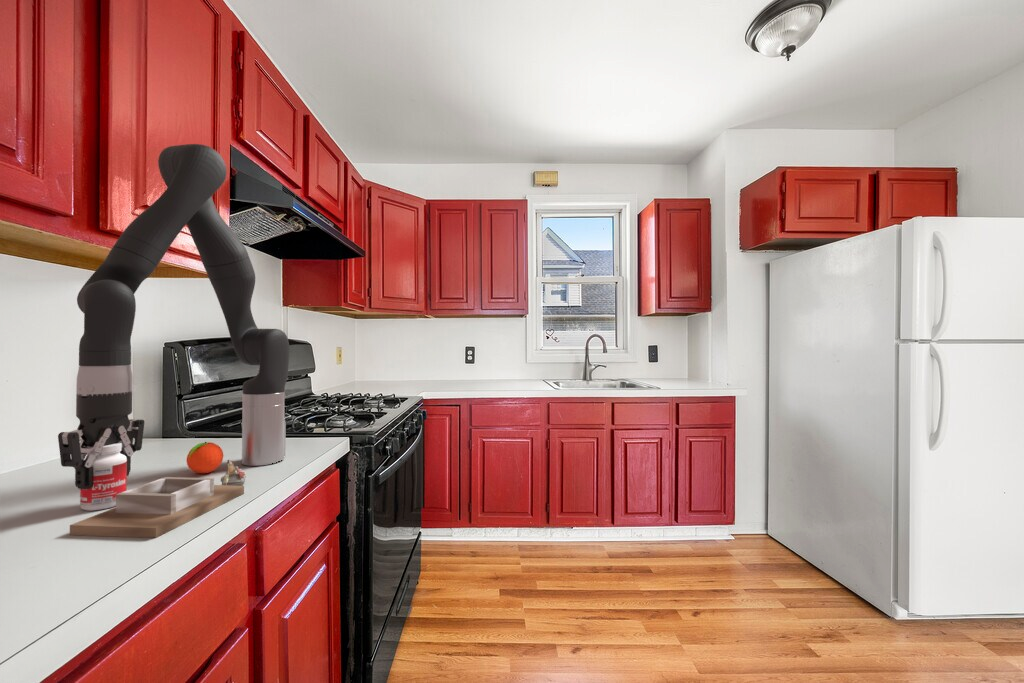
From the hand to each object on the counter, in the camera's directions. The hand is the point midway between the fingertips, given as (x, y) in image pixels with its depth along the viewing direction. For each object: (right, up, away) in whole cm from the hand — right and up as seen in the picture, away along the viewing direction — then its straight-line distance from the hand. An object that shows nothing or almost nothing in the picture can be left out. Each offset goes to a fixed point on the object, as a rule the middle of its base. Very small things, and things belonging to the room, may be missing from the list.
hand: (104, 482), depth 80 cm
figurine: (+16, -5, +11) cm, 21 cm away
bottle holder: (+14, -4, -3) cm, 15 cm away
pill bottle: (0, -4, 0) cm, 4 cm away
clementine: (+4, -5, +20) cm, 21 cm away
